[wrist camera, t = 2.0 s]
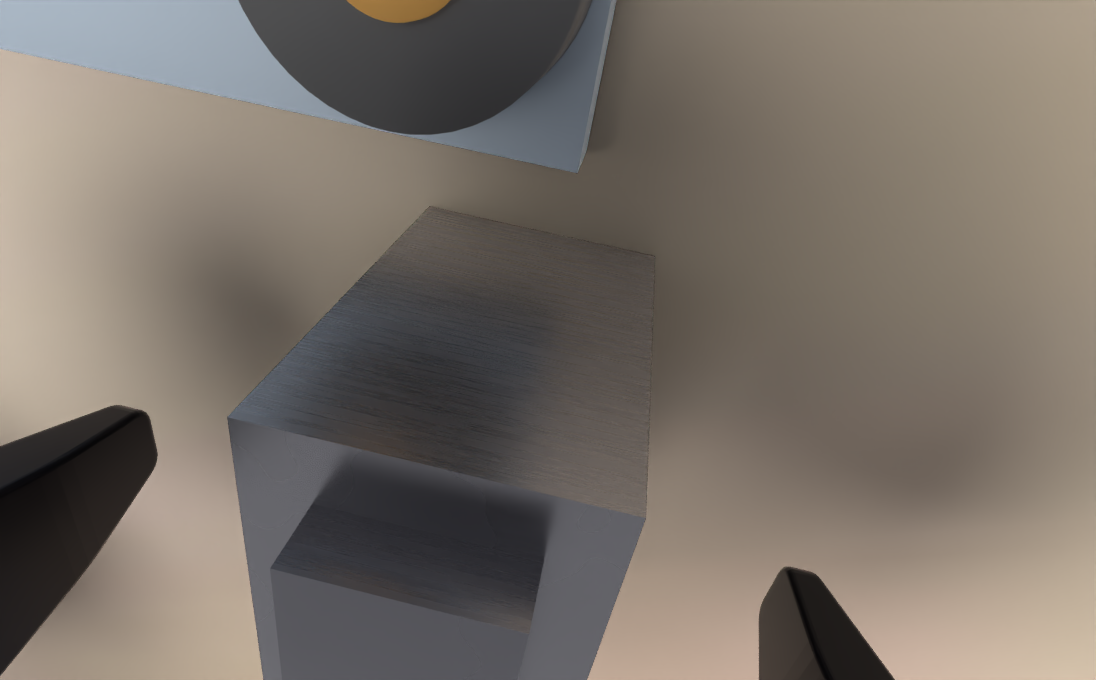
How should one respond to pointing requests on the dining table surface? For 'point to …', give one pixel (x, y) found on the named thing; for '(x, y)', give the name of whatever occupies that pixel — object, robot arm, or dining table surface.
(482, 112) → the chassis
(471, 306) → the grey block with tab
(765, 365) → the dining table surface
